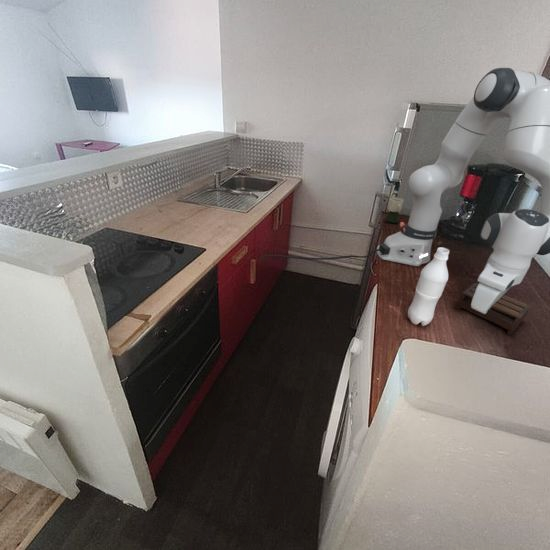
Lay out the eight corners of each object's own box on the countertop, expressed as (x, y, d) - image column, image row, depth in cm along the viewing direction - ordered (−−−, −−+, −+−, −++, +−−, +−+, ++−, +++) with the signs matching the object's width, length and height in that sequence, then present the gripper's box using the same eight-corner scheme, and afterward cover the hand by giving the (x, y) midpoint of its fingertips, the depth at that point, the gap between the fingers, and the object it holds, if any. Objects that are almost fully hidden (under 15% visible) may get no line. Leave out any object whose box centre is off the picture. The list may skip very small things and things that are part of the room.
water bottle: (401, 313, 95) (424, 244, 82) (422, 312, 96) (448, 243, 83) (412, 328, 89) (438, 256, 76) (434, 327, 90) (464, 255, 77)
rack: (509, 335, 88) (520, 319, 84) (454, 309, 98) (461, 293, 95) (521, 322, 93) (531, 305, 90) (468, 298, 104) (475, 282, 100)
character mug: (401, 225, 160) (407, 202, 153) (388, 225, 160) (394, 202, 153) (393, 218, 169) (399, 196, 163) (381, 218, 169) (386, 196, 162)
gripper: (504, 255, 87) (485, 293, 94) (476, 277, 76) (457, 319, 83) (530, 264, 83) (508, 303, 90) (504, 288, 72) (482, 331, 79)
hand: (483, 311), depth 86 cm, fingers closed
